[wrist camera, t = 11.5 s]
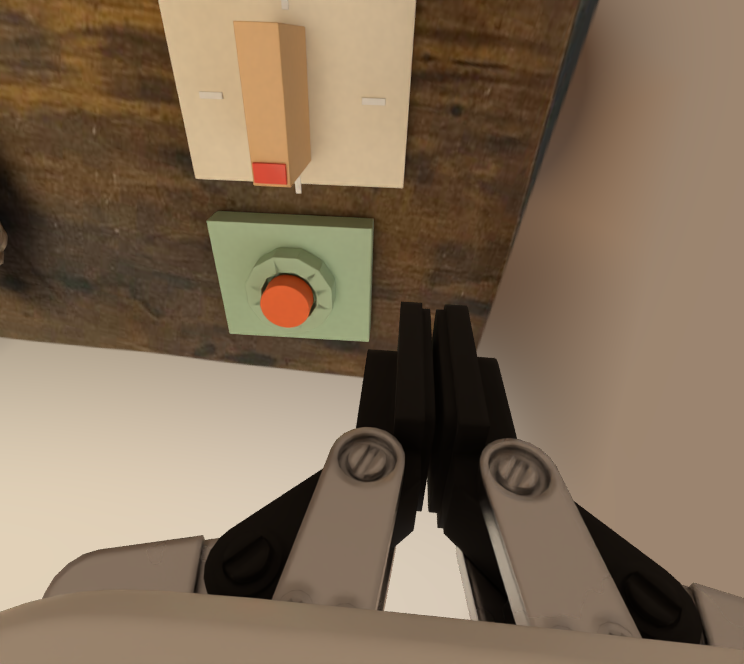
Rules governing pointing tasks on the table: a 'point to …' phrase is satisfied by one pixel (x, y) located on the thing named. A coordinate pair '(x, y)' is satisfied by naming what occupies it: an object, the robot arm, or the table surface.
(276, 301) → the button
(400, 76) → the panel
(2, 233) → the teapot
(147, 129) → the table surface
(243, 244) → the button block
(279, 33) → the handle
